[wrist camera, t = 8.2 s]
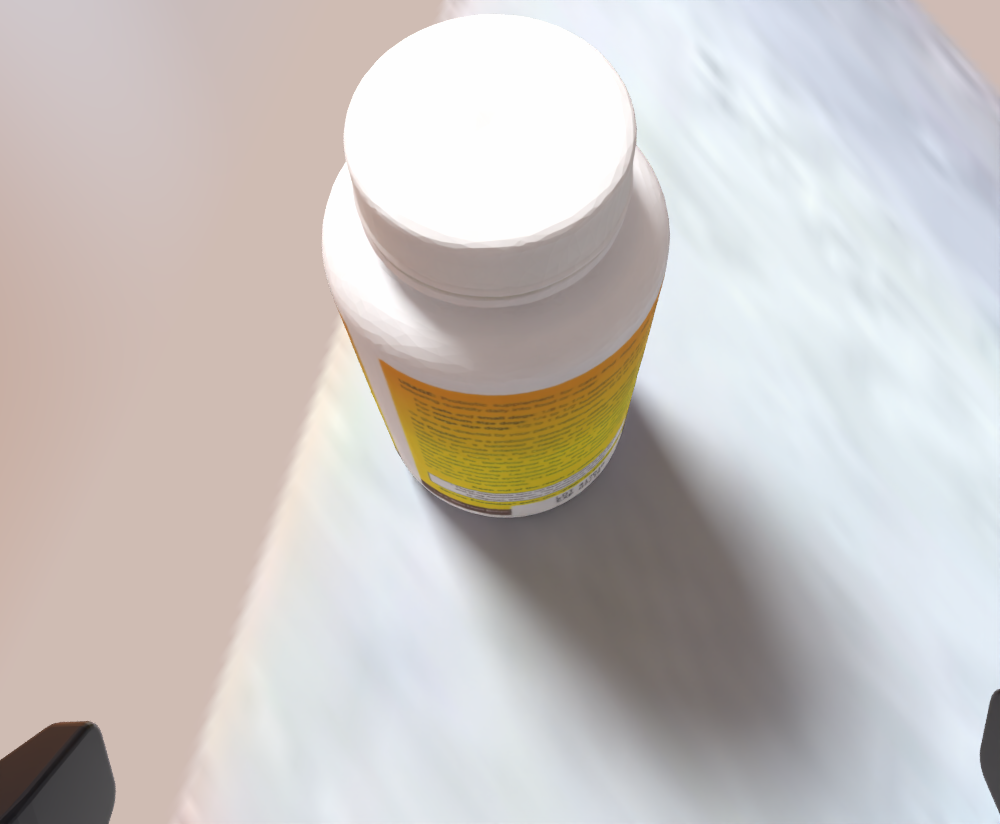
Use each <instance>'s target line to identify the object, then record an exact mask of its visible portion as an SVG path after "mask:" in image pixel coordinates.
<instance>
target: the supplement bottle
mask: <svg viewBox="0 0 1000 824" xmlns="http://www.w3.org/2000/svg"><path fill="white" fill-rule="evenodd" d="M636 133H637V128H636V120H635V113H634V109H633V105H632V101H631V98H630V96H629V93H628V91H627V89H626V86H625V84H624V83H623V81H622V79H621V78H620V76H619V75H618V73H617V72H616V70H615V69H614V68H613V66H612V65H611V64H610V62H609V61H608V60H607V59H606V58H605V57H604V56H603V55H602V54H601V53H600V52H599V51H598V50H597V49H595V48H594V47H593V46H591V45H590V44H588V43H587V42H586V41H584V40H583V39H581V38H580V37H578V36H576V35H574V34H572V33H571V32H569V31H567V30H564V29H562V28H560V27H558V26H555V25H552V24H550V23H547V22H544V21H540V20H536V19H532V18H528V17H522V16H514V15H499V14H484V15H474V16H467V17H461V18H457V19H452V20H448V21H445V22H442V23H438V24H435V25H432V26H430V27H428V28H425V29H423V30H421V31H418V32H417V33H415V34H413V35H411V36H409V37H407V38H405V39H404V40H402V41H401V42H400V43H398V44H397V45H395V46H394V47H392V48H391V49H389V50H388V51H387V52H386V53H385V54H384V55H383V56H382V57H381V58H380V59H378V60H377V61H376V63H375V64H374V65H373V66H372V68H371V69H370V70H369V71H368V72H367V74H366V75H365V76H364V77H363V79H362V81H361V82H360V84H359V85H358V87H357V89H356V91H355V93H354V95H353V97H352V100H351V103H350V105H349V108H348V111H347V116H346V121H345V126H344V151H345V157H346V163H345V164H344V166H343V168H342V170H341V171H340V173H339V175H338V177H337V179H336V181H335V183H334V185H333V187H332V191H331V194H330V197H329V200H328V203H327V206H326V210H325V215H324V221H323V231H322V252H323V262H324V268H325V273H326V276H327V280H328V283H329V287H330V290H331V293H332V296H333V299H334V302H335V304H336V306H337V309H338V311H339V313H340V316H341V318H342V321H343V323H344V326H345V328H346V330H347V333H348V335H349V338H350V340H351V343H352V345H353V348H354V350H355V353H356V355H357V358H358V360H359V363H360V365H361V368H362V370H363V373H364V375H365V378H366V380H367V382H368V385H369V387H370V390H371V393H372V395H373V397H374V399H375V402H376V404H377V406H378V409H379V411H380V413H381V415H382V417H383V420H384V422H385V425H386V427H387V429H388V432H389V434H390V436H391V439H392V441H393V443H394V446H395V448H396V450H397V452H398V454H399V455H400V457H401V459H402V461H403V462H404V464H405V465H406V467H407V468H408V470H409V471H410V472H411V474H412V475H413V476H414V477H415V478H416V479H417V481H418V482H419V483H420V484H422V485H423V486H424V487H425V488H426V489H427V490H428V491H430V492H431V493H432V494H434V495H435V496H437V497H438V498H440V499H441V500H443V501H445V502H447V503H448V504H450V505H452V506H454V507H457V508H459V509H462V510H465V511H467V512H471V513H475V514H479V515H483V516H489V517H499V518H511V517H523V516H528V515H534V514H537V513H541V512H544V511H547V510H550V509H552V508H555V507H557V506H559V505H561V504H563V503H565V502H567V501H568V500H570V499H572V498H573V497H575V496H576V495H578V494H579V493H580V492H582V491H583V490H584V489H585V488H586V487H588V486H589V485H590V484H591V483H592V482H593V481H594V480H595V479H596V478H597V477H598V475H599V474H600V473H601V472H602V470H603V469H604V468H605V466H606V465H607V463H608V462H609V460H610V458H611V457H612V455H613V453H614V451H615V449H616V446H617V444H618V442H619V439H620V437H621V434H622V431H623V427H624V423H625V419H626V415H627V412H628V408H629V404H630V401H631V397H632V393H633V390H634V386H635V382H636V378H637V374H638V371H639V367H640V364H641V361H642V358H643V354H644V350H645V346H646V343H647V339H648V335H649V332H650V328H651V324H652V320H653V317H654V313H655V309H656V305H657V302H658V298H659V294H660V291H661V287H662V283H663V280H664V276H665V270H666V265H667V259H668V252H669V241H670V230H669V218H668V213H667V208H666V202H665V198H664V195H663V192H662V189H661V187H660V184H659V181H658V179H657V177H656V175H655V173H654V171H653V169H652V167H651V165H650V163H649V162H648V160H647V159H646V157H645V156H644V154H643V153H642V152H641V150H640V149H639V148H638V147H637V145H636Z"/></svg>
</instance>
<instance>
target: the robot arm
mask: <svg viewBox="0 0 1000 824" xmlns="http://www.w3.org/2000/svg"><path fill="white" fill-rule="evenodd" d="M980 763H981V769H982V772H983V776H984V778H985V781H986V783H987V786H988V788H989V790H990V792H991V795H992V797H993V799H994V802H995V804H996V806H997V809H998V811H999V813H1000V689H998V690H996V691H995V692H994V694H993V695H992V697H991V700H990V704H989V709H988V714H987V719H986V724H985V729H984V733H983V738H982V743H981V748H980ZM115 792H116V790H115V781H114V777H113V773H112V769H111V766H110V762H109V759H108V755H107V751H106V748H105V744H104V740H103V737H102V733H101V731H100V729H99V727H98V726H97V725H96V724H95V723H93V722H89V721H80V722H59V723H54V724H52V725H50V726H48V727H47V728H45V729H44V730H42V731H41V732H39V733H38V734H36V735H35V736H34V737H32V738H31V739H29V740H28V741H27V742H25V743H24V744H22V745H21V746H19V747H18V748H17V749H15V750H14V751H12V752H11V753H10V754H8V755H7V756H5V757H4V758H3V759H1V760H0V824H109V821H110V817H111V814H112V811H113V807H114V802H115Z"/></svg>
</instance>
